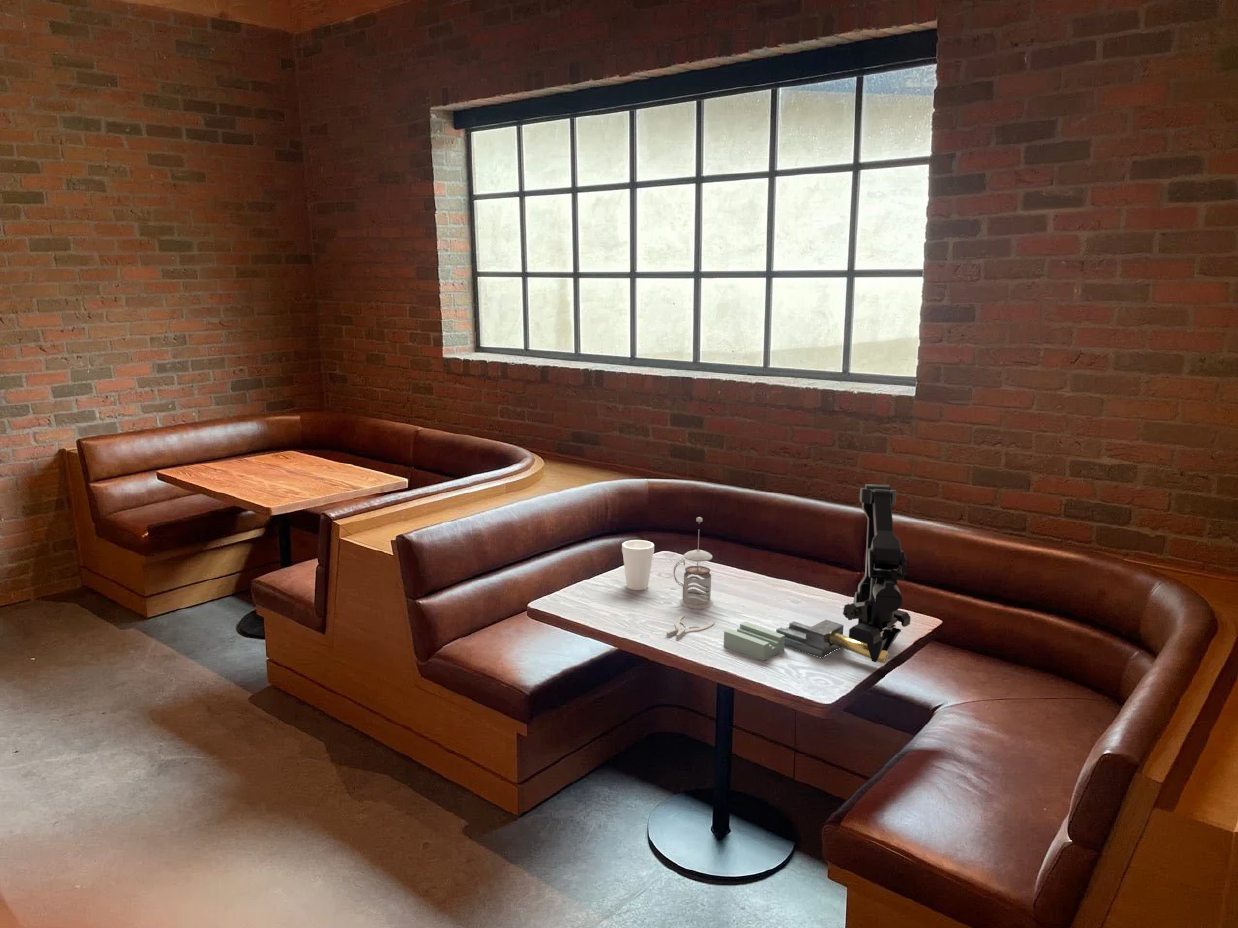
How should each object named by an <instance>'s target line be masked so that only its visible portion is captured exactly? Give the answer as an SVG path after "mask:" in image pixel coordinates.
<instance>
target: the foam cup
mask: <svg viewBox="0 0 1238 928" xmlns="http://www.w3.org/2000/svg"><path fill="white" fill-rule="evenodd" d="M621 552H622V556H623V566H624V575H625V582H626V588H628V589H629V590H632V591H633V590H634V591H643V590H647V589H648V588H649V582H650V576H651V571H652V565H653V564H652V563H653V558H654V553H655V544H654V542H651V541H648V540H644V539H643V540H642V539H631V540H626V541H624V542H623V543H621Z"/></svg>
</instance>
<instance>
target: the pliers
mask: <svg viewBox="0 0 1238 928" xmlns="http://www.w3.org/2000/svg"><path fill="white" fill-rule="evenodd" d="M685 617H686V615H685V614H682V615H680V616H678V617H677V618H676V619H675V620H674V623H673V624H674V627H675V628H672V629H670V630H668V631H666V637H667V638H670V637H672V636H675V638H676V640H680V639H681V638H682V637H683V636H684V635H685V634H689V633H694V632H695V633H696V632H701V631H705V630H707V629H710V628H712V627H713V626H714V625H715V623H716V622H715V621H712V622H709V623H708V624H705V625H703V626H702V625H693V626H688V629H686V624H685V623H684V622H683V621H682V620H683V619H684V618H685Z"/></svg>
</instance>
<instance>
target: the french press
mask: <svg viewBox="0 0 1238 928" xmlns="http://www.w3.org/2000/svg"><path fill="white" fill-rule="evenodd" d="M695 519H696V520H695V521H696V523H697V522H698V523H702V522H703V521H704V520H703V518H702V517H701V516H698V517H696V518H695ZM697 536H698V537H697V538H698V539H697V549H694V550H693V549H692V550H689V551H687V552H686V553H683V558H684V559H681V560H679V561H677V562H676V563H675V565H674V568H673V577H674V578H673V579H674V581H675V583H676V584H677V585H679V586H681V587H682V597H681V598H680V599H679V604H680V605H681V606H683V607H685V608H690V609H697V610H699V609H706V608H711V607H713V606H714V603H715V602H714V601H713V599H712V598H711V593H712V592H711V591H712V590H711V588H712V574H711V573H710V572H711V569H710V568H709V567H706V566H703V565H699V562H708V561H711V560H712V559H713V555H712V554H711V553H710V552H708V551H706V550H702V549H699V547H700V545H699V544H700V530H698V535H697ZM685 560H688V561H691V562H697V564H696V565H689V566H686V567H685V565H686V562H685ZM681 563H683V566H684V567H685V569H684V571H685V572H684V573H683V583H682V582H681V581H678V579H677V577H676V569H677V567H678V566H679V565H681ZM691 575H692V576H691ZM700 577H701V578H700ZM692 583H693V584H692ZM696 588H697V589H696Z"/></svg>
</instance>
